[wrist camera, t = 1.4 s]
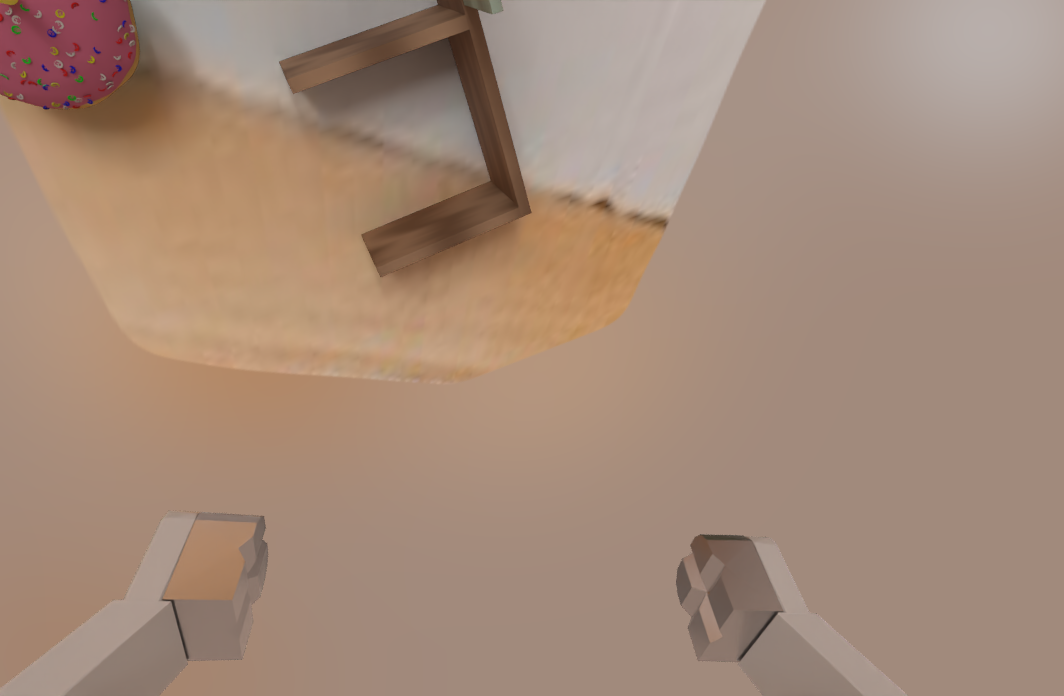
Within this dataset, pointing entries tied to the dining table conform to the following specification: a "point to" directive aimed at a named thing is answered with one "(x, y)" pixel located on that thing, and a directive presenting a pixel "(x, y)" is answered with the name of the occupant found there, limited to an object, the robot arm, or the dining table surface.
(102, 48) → the cupcake
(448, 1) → the walnut rack
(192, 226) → the dining table surface
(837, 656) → the robot arm
